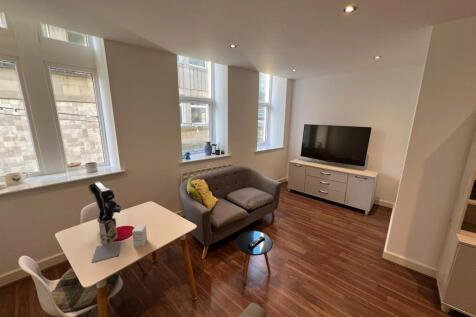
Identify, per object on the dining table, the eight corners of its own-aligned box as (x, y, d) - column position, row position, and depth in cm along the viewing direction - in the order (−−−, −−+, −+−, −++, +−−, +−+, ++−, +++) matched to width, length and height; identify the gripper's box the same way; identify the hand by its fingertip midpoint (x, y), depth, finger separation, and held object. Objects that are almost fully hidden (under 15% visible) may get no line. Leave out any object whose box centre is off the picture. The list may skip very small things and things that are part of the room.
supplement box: (137, 240, 148) (135, 225, 146) (147, 240, 149) (146, 225, 146) (133, 246, 141) (131, 231, 139) (143, 246, 142) (142, 230, 139)
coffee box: (108, 244, 142) (105, 224, 140) (101, 243, 144) (98, 223, 141) (118, 237, 151) (115, 218, 148) (111, 236, 152) (108, 217, 150)
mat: (96, 247, 140) (96, 246, 140) (120, 241, 147) (120, 240, 147) (91, 262, 125) (91, 262, 125) (118, 255, 132) (118, 255, 132)
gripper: (118, 208, 147) (121, 226, 150) (120, 198, 163) (122, 215, 167) (101, 211, 142) (104, 230, 145) (105, 201, 158) (107, 218, 162)
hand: (110, 223), depth 155 cm, fingers closed
